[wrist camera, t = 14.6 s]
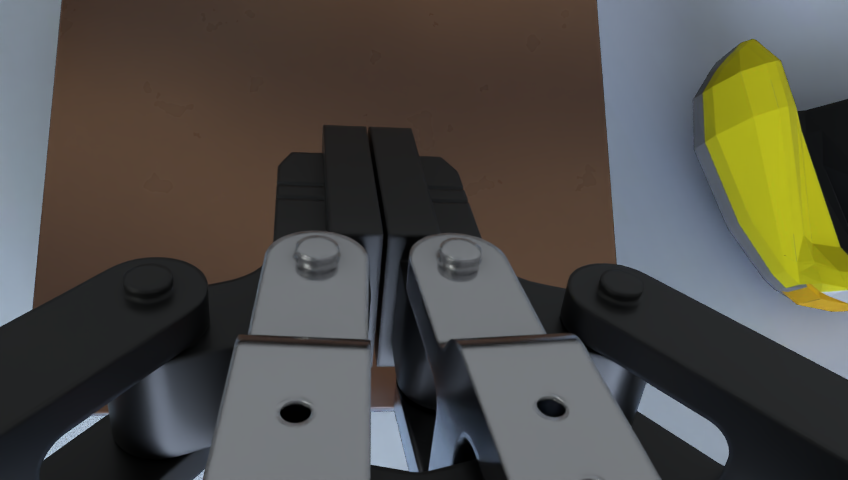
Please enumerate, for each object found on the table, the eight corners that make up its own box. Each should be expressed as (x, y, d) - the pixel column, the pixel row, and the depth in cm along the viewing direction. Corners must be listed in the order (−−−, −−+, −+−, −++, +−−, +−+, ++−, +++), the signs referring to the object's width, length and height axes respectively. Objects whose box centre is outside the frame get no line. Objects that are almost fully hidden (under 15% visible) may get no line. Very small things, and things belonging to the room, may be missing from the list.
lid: (94, -248, 20) (86, -274, 19) (571, -194, 22) (581, -216, 21) (34, 414, 16) (21, 414, 15) (614, 405, 18) (628, 404, 18)
